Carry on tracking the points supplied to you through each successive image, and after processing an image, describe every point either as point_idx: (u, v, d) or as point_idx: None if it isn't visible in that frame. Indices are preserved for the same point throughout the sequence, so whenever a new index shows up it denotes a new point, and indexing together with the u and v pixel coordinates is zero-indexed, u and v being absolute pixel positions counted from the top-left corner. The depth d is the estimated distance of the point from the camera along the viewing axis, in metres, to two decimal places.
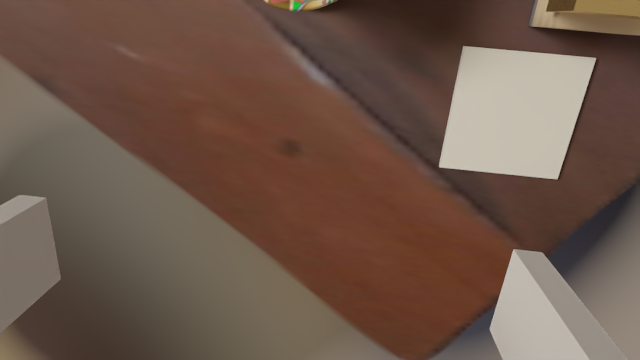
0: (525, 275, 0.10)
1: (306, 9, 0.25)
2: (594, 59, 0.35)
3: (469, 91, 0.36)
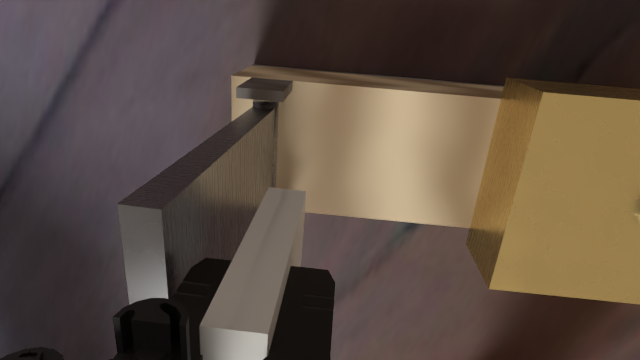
0: (278, 206, 0.13)
1: None
2: None
3: None
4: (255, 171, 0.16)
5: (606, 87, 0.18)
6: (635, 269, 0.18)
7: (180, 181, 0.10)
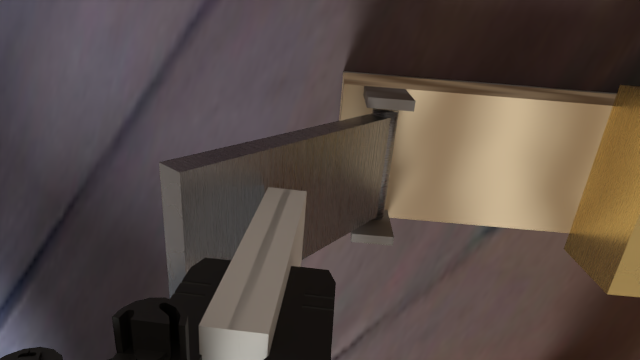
0: (278, 206, 0.13)
1: None
2: None
3: None
4: (345, 173, 0.17)
5: None
6: None
7: (221, 157, 0.12)
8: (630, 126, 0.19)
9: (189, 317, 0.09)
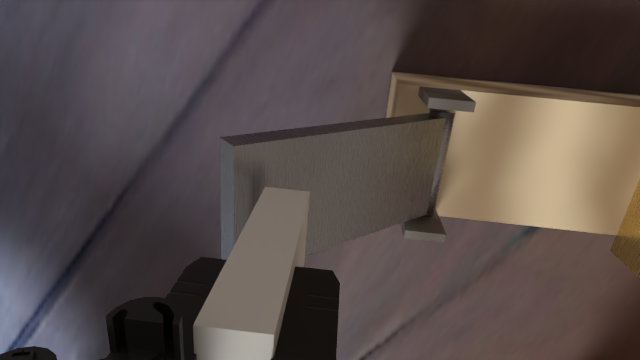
0: (282, 206, 0.13)
1: None
2: None
3: None
4: (392, 166, 0.18)
5: None
6: None
7: (272, 138, 0.14)
8: None
9: (184, 316, 0.09)
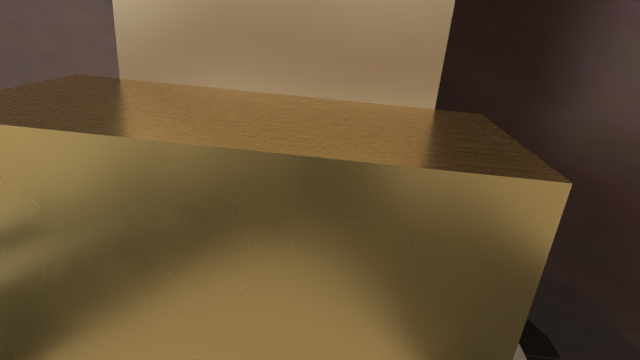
0: None
1: None
2: None
3: None
4: None
5: None
6: None
7: None
8: (417, 125, 0.07)
9: None
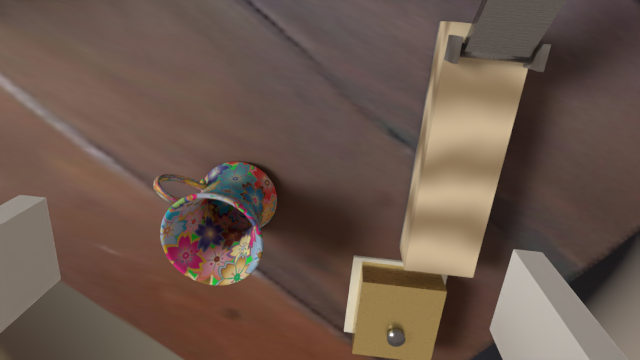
0: (525, 275, 0.10)
1: None
2: None
3: None
4: (522, 23, 0.29)
5: None
6: (372, 327, 0.46)
7: None
8: (428, 276, 0.46)
9: None
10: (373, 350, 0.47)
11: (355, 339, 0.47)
